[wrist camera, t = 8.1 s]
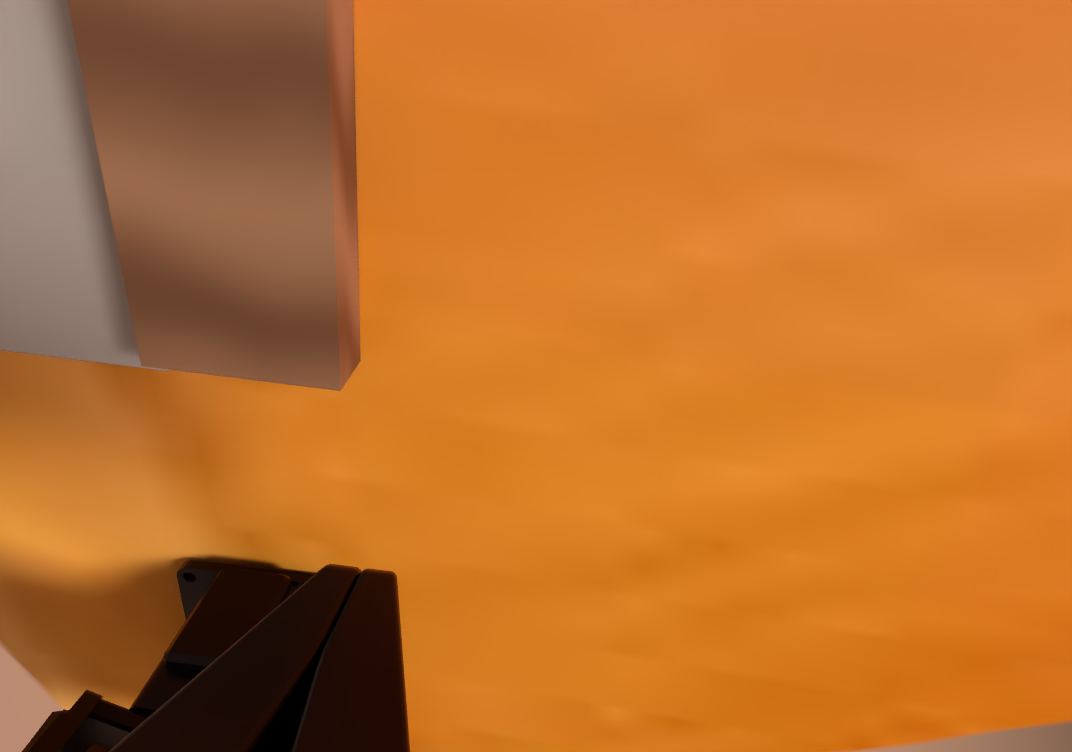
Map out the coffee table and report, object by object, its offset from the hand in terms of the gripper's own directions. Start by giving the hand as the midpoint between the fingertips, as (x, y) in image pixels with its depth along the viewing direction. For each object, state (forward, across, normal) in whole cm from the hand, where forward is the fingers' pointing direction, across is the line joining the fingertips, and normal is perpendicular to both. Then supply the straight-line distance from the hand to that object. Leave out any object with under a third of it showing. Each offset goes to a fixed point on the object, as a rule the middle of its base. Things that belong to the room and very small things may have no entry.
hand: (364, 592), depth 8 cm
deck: (+13, +7, -4) cm, 15 cm away
